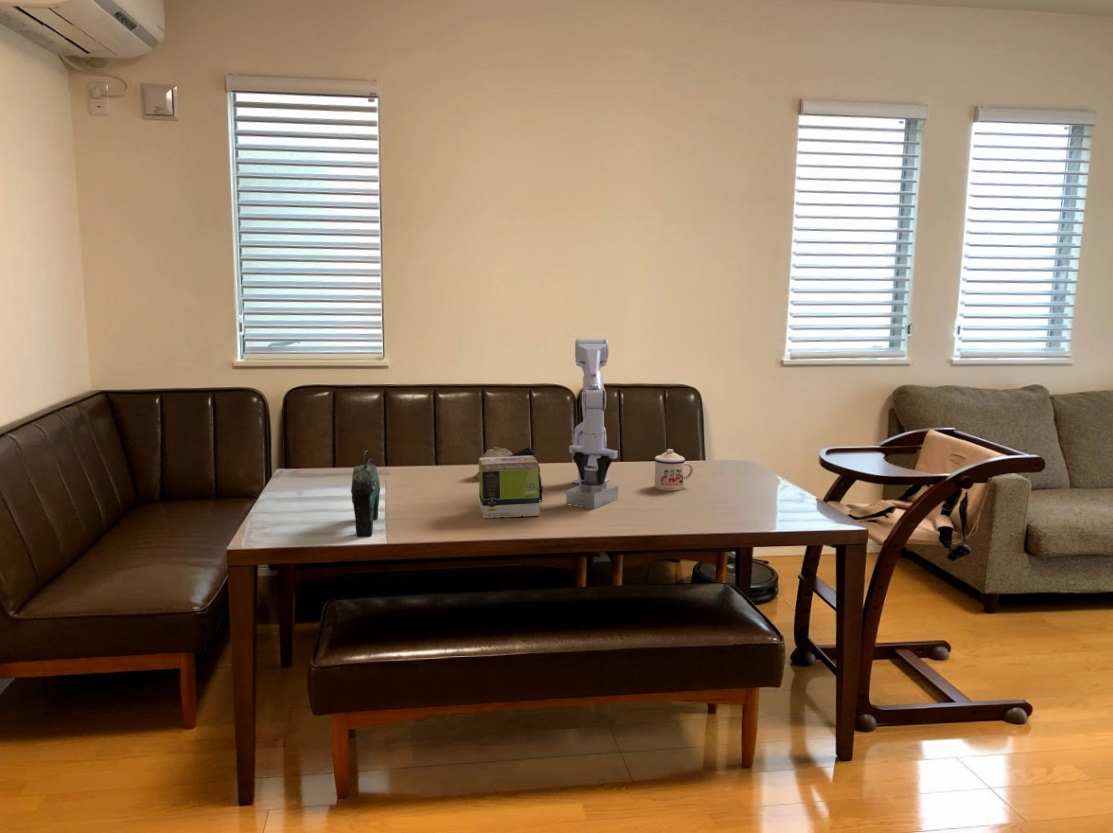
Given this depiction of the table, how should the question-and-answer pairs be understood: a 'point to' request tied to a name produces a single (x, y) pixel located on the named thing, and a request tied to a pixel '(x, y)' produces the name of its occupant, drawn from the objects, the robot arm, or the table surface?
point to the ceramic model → (495, 454)
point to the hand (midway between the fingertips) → (592, 480)
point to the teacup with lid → (670, 471)
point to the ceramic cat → (365, 497)
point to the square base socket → (592, 495)
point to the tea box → (509, 486)
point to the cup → (591, 475)
